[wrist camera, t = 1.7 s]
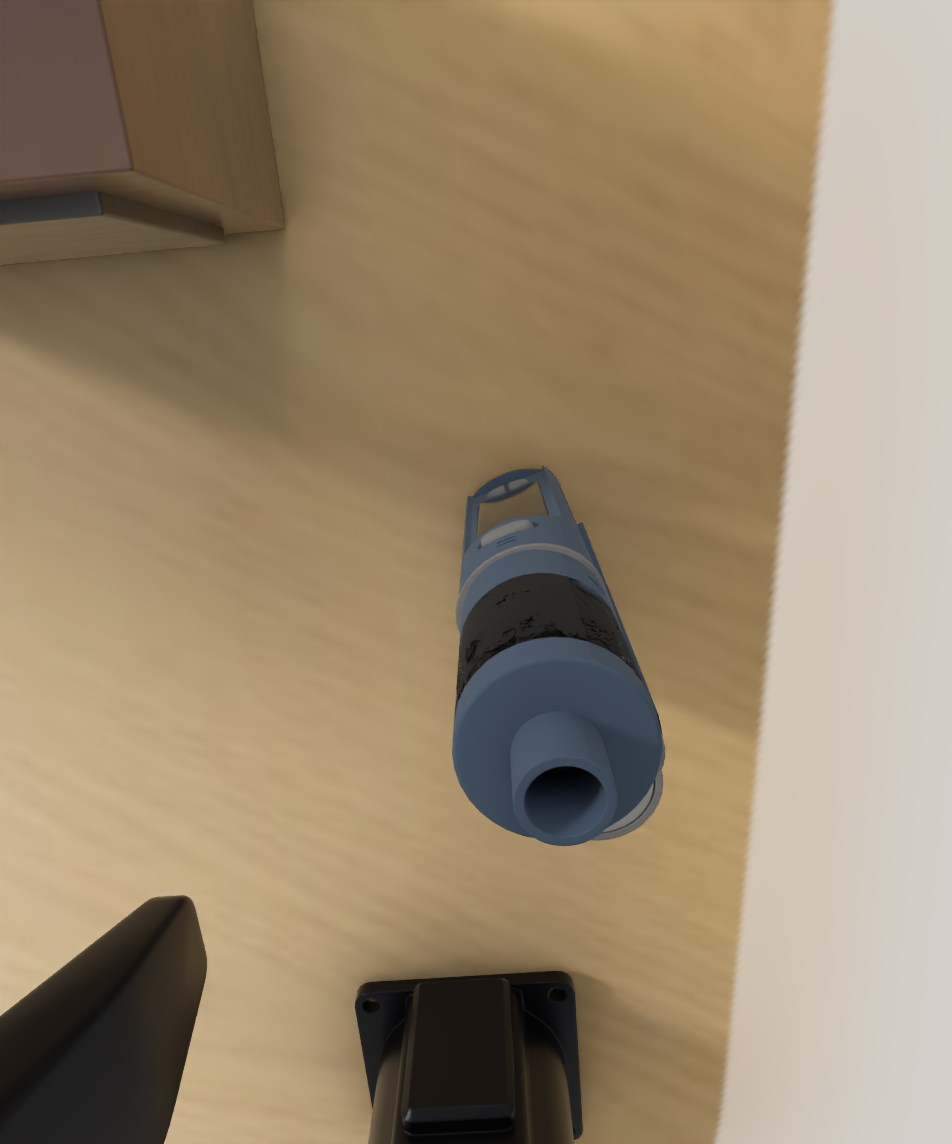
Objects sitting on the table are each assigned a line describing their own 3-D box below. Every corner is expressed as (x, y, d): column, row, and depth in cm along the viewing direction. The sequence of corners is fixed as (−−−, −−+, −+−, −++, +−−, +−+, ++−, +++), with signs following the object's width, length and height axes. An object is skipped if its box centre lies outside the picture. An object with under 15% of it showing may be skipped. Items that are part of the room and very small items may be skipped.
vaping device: (549, 441, 19) (651, 650, 7) (621, 632, 20) (796, 1049, 9) (448, 481, 19) (396, 741, 8) (526, 666, 21) (579, 1110, 9)
